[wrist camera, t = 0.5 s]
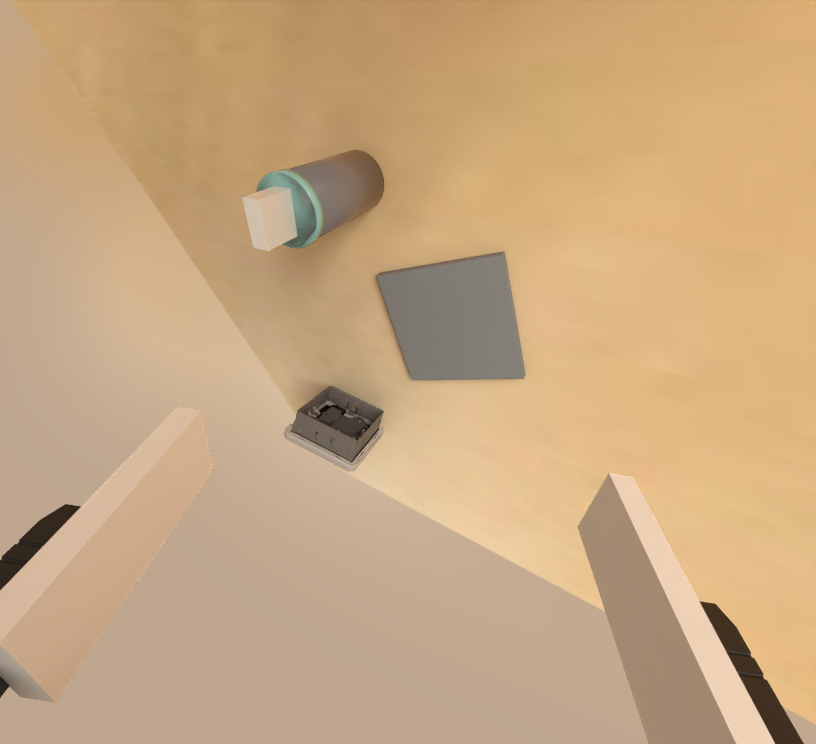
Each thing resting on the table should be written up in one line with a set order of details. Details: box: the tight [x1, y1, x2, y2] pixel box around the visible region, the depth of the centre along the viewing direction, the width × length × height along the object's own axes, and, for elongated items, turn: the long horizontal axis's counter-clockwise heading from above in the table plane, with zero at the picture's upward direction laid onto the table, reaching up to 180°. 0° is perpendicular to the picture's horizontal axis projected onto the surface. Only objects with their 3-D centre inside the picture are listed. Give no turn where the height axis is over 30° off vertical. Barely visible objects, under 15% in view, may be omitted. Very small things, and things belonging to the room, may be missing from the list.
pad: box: [376, 252, 525, 380], centre depth 37 cm, size 12×12×1 cm
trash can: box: [242, 150, 384, 251], centre depth 28 cm, size 5×5×13 cm
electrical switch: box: [285, 386, 384, 471], centre depth 46 cm, size 9×5×9 cm, turn 76°
